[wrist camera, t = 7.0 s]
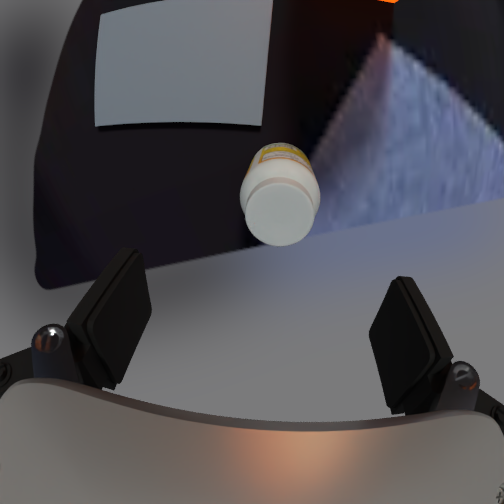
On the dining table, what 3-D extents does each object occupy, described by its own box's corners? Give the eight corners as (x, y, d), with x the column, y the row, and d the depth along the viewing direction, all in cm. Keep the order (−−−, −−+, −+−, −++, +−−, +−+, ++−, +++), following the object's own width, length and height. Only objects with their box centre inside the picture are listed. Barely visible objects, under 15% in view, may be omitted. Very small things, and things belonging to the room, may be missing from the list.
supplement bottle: (283, 129, 22) (286, 150, 14) (322, 175, 24) (345, 222, 16) (237, 169, 24) (214, 211, 16) (277, 211, 26) (274, 271, 18)
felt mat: (273, -2, 16) (273, -4, 15) (261, 125, 22) (261, 125, 21) (104, 15, 16) (100, 14, 16) (98, 125, 22) (95, 126, 22)
